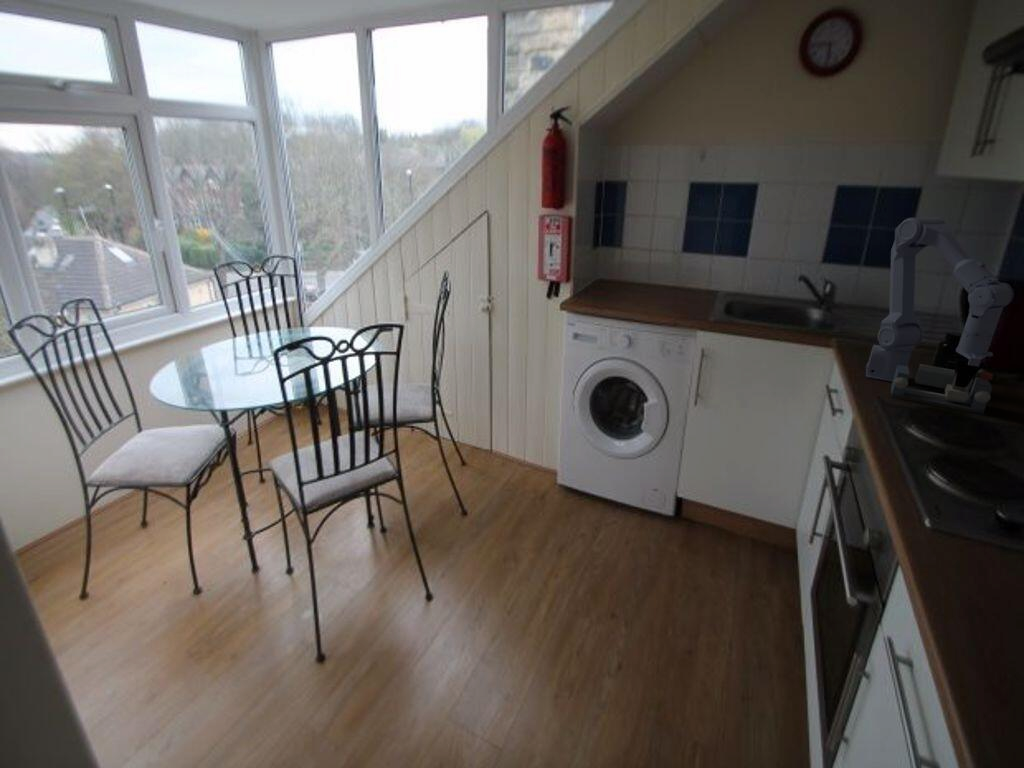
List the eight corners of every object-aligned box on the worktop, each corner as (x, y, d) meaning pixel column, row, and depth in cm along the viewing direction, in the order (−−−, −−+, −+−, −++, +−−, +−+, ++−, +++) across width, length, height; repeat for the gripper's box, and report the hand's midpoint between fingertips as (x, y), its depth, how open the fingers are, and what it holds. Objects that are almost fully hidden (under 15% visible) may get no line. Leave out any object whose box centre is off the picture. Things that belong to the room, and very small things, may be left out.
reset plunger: (979, 378, 133) (981, 374, 132) (978, 375, 135) (980, 371, 134) (992, 380, 132) (994, 376, 131) (990, 377, 134) (992, 373, 133)
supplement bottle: (949, 378, 155) (962, 338, 151) (924, 370, 161) (936, 331, 157) (963, 375, 158) (977, 335, 153) (938, 367, 164) (951, 329, 159)
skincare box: (968, 387, 149) (915, 377, 156) (973, 373, 147) (920, 363, 154) (968, 394, 144) (913, 383, 151) (973, 379, 143) (918, 368, 150)
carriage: (945, 400, 137) (954, 373, 134) (943, 394, 141) (952, 367, 138) (965, 404, 135) (975, 376, 132) (963, 397, 139) (972, 370, 136)
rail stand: (889, 396, 142) (896, 372, 139) (889, 387, 148) (896, 364, 146) (984, 414, 132) (994, 388, 130) (980, 403, 138) (989, 378, 136)
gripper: (1004, 343, 124) (984, 397, 129) (994, 328, 135) (976, 379, 140) (965, 338, 127) (947, 391, 132) (958, 324, 138) (942, 373, 143)
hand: (960, 384), depth 136 cm, fingers closed on carriage, 2 cm apart
